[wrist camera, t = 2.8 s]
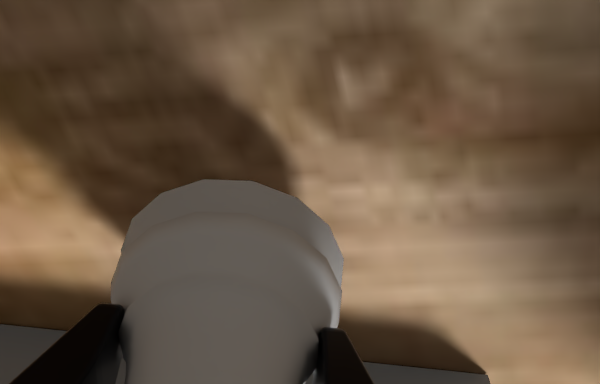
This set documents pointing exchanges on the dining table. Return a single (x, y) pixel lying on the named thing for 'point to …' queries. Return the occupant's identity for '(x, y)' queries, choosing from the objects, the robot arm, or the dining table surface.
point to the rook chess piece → (226, 286)
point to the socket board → (34, 341)
